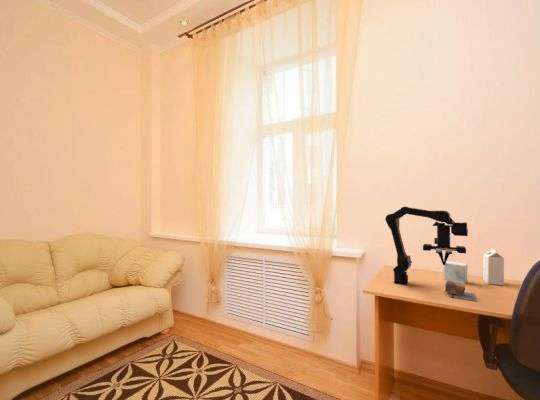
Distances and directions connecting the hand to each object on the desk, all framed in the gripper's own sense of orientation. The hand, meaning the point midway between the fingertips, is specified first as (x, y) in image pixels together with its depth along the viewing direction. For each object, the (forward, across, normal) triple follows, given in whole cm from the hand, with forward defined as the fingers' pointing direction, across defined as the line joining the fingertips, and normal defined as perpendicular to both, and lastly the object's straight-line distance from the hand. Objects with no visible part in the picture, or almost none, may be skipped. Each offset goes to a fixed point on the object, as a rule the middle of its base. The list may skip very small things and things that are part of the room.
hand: (443, 265), depth 144 cm
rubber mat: (+14, -8, +4) cm, 16 cm away
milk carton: (+14, -23, -29) cm, 40 cm away
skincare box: (+14, -6, -22) cm, 27 cm away
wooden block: (+10, 0, +4) cm, 10 cm away
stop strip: (+13, -2, +4) cm, 14 cm away
